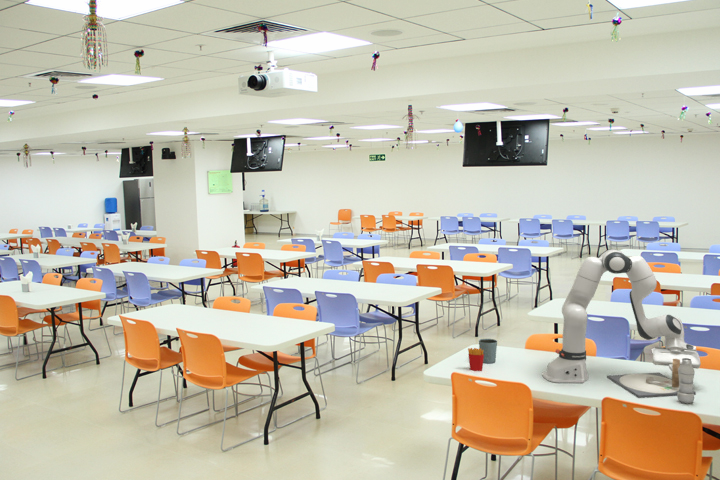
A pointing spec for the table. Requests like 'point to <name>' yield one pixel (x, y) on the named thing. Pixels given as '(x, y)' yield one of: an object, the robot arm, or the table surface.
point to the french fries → (476, 359)
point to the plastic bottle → (686, 381)
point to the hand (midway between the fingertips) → (676, 374)
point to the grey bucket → (488, 350)
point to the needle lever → (674, 376)
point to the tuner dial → (645, 384)
